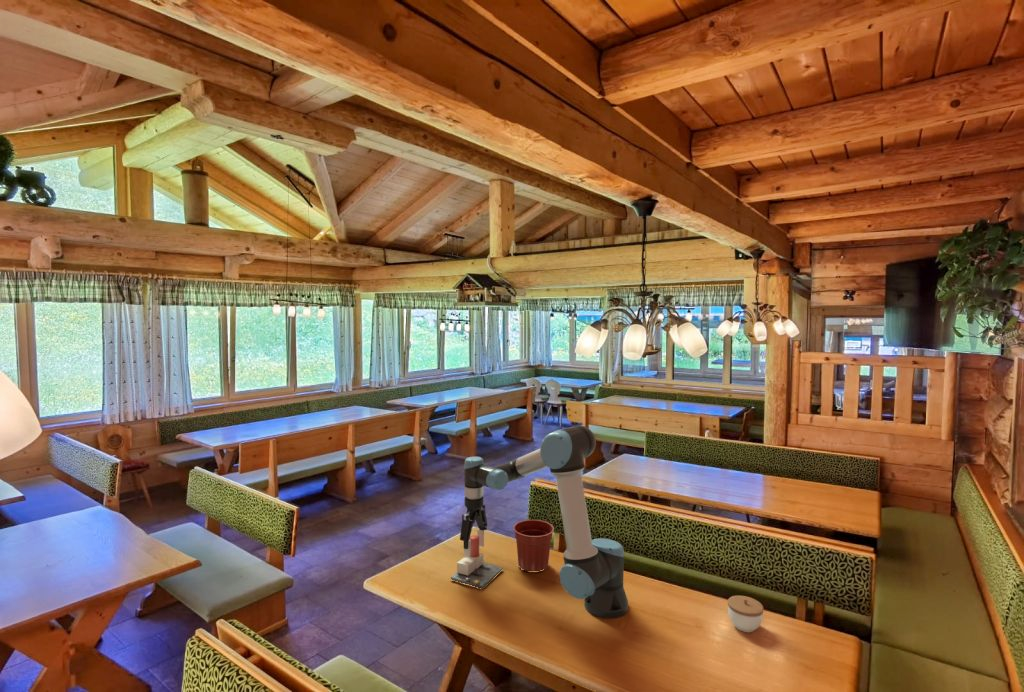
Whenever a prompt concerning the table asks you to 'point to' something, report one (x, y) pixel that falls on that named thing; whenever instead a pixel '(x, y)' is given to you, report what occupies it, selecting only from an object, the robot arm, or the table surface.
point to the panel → (479, 575)
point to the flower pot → (533, 544)
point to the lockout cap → (474, 545)
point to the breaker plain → (465, 566)
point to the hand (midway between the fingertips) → (474, 550)
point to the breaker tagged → (477, 560)
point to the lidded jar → (745, 613)
